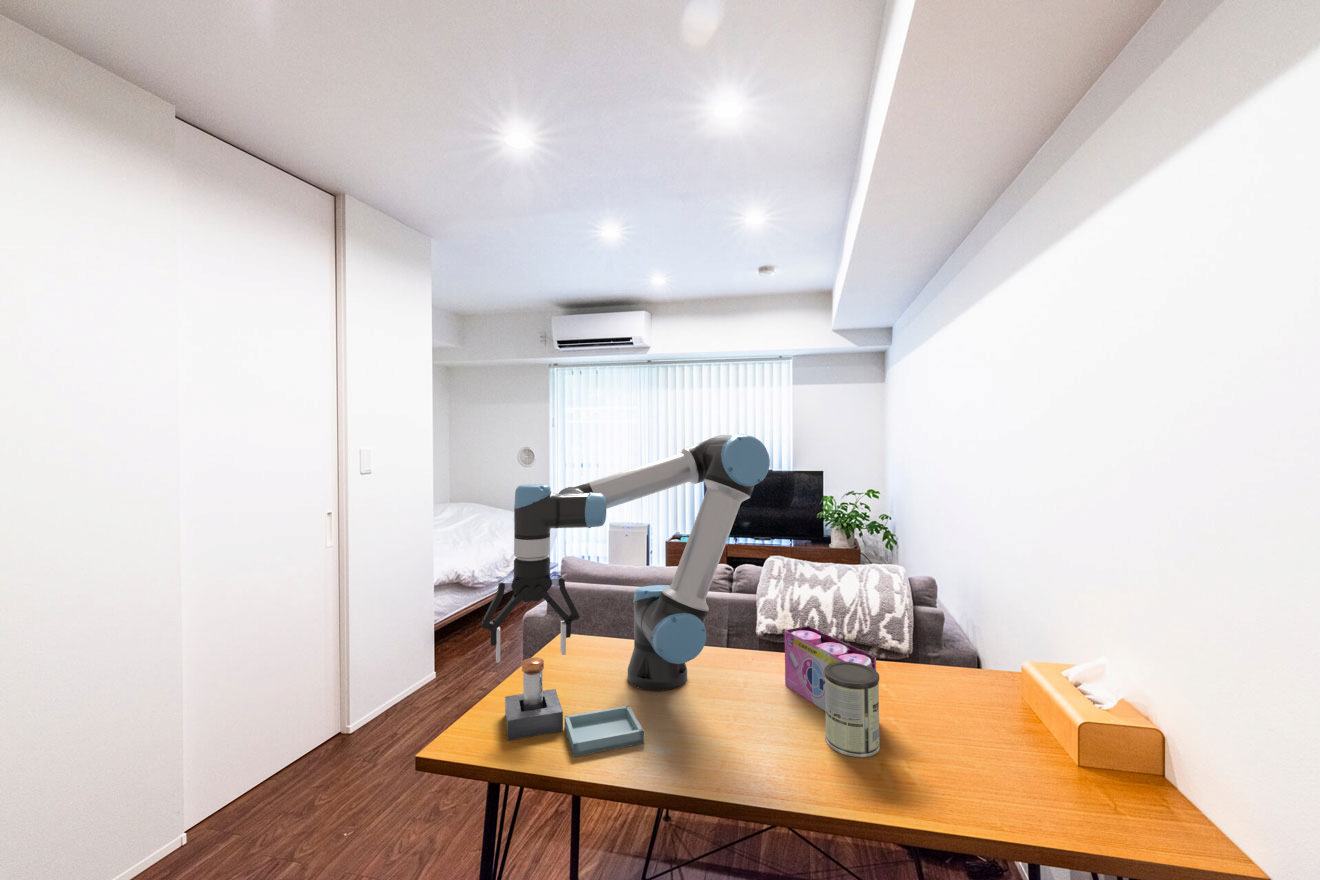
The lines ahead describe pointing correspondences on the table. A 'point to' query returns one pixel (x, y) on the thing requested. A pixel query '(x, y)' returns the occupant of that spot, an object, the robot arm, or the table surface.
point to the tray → (603, 730)
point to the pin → (533, 683)
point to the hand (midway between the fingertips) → (531, 656)
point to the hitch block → (533, 716)
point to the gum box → (816, 661)
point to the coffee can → (852, 709)
